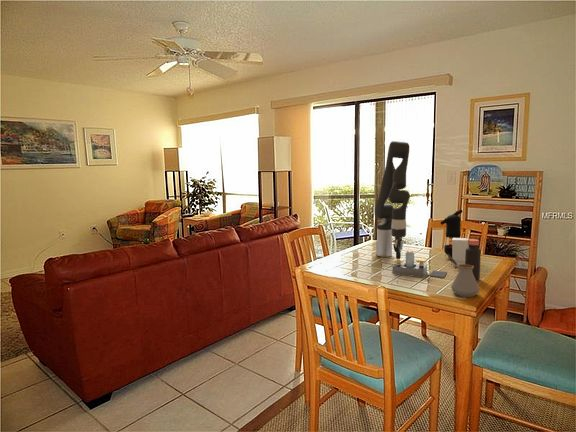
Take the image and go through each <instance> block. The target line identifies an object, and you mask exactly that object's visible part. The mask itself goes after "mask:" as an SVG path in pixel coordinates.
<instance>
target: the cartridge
mask: <svg viewBox="0 0 576 432" xmlns="http://www.w3.org/2000/svg"><path fill="white" fill-rule="evenodd" d="M405 263H406V267H413V268H414V264H415V252H414V250H406V252H405Z"/></svg>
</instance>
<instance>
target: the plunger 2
mask: <svg viewBox="0 0 576 432" xmlns="http://www.w3.org/2000/svg"><path fill="white" fill-rule="evenodd" d="M415 262H416V263H419V264H420V267H421V268H424V265H425V263H426V262H428V258H420V257H418V258H417V259H416V260H415Z"/></svg>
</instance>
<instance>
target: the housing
mask: <svg viewBox="0 0 576 432" xmlns="http://www.w3.org/2000/svg"><path fill="white" fill-rule="evenodd" d="M391 267H392V269H391V271H392V273H391V274H393V275H400V276H401V275H402V276H410V277H418V278H424V277H425V276H426V275H427V273H428V264H424V268H421V267H420V263H414V268H413V267H406V262H404V261H403V262H402V263H400V265H397V263H396V262H394V264H393V265H392V266H391Z"/></svg>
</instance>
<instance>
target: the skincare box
mask: <svg viewBox="0 0 576 432" xmlns="http://www.w3.org/2000/svg"><path fill="white" fill-rule="evenodd" d="M468 239H469V238H468V237H466V238H465V237H460V238H453V239H451V242H452V258H453V259H454V260H455V262H456V263H457V265H461V264H465V252H466V248H468V247H469V245H468ZM451 262H452V261H451ZM451 265H452V267H457V266H456V265H455V264H454V263H453V262H452V263H451ZM457 268H458V267H457Z"/></svg>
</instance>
